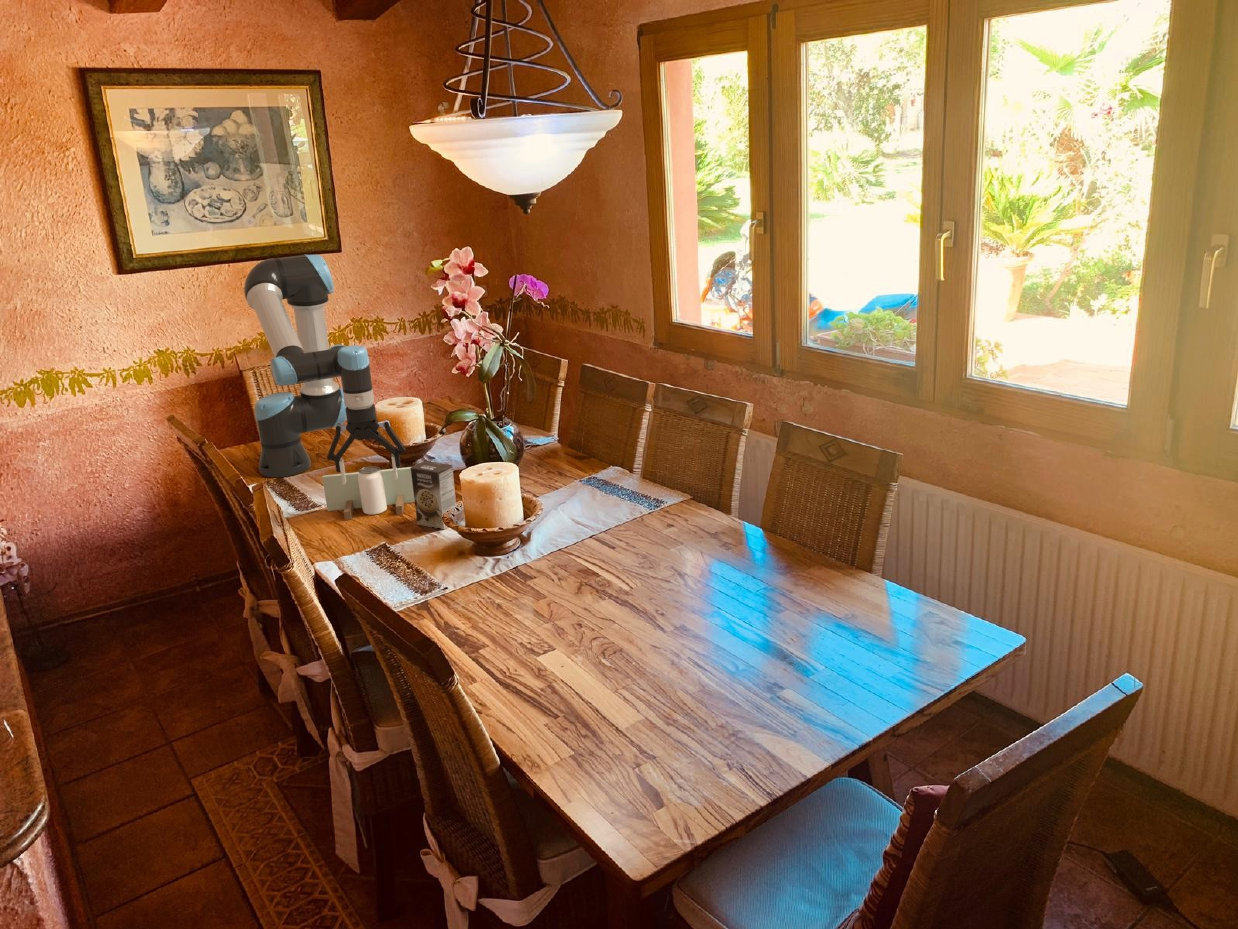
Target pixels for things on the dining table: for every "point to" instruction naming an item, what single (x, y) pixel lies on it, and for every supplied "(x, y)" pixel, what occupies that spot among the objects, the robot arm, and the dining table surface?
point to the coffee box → (433, 492)
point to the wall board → (349, 493)
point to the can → (372, 490)
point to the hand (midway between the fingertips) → (370, 480)
